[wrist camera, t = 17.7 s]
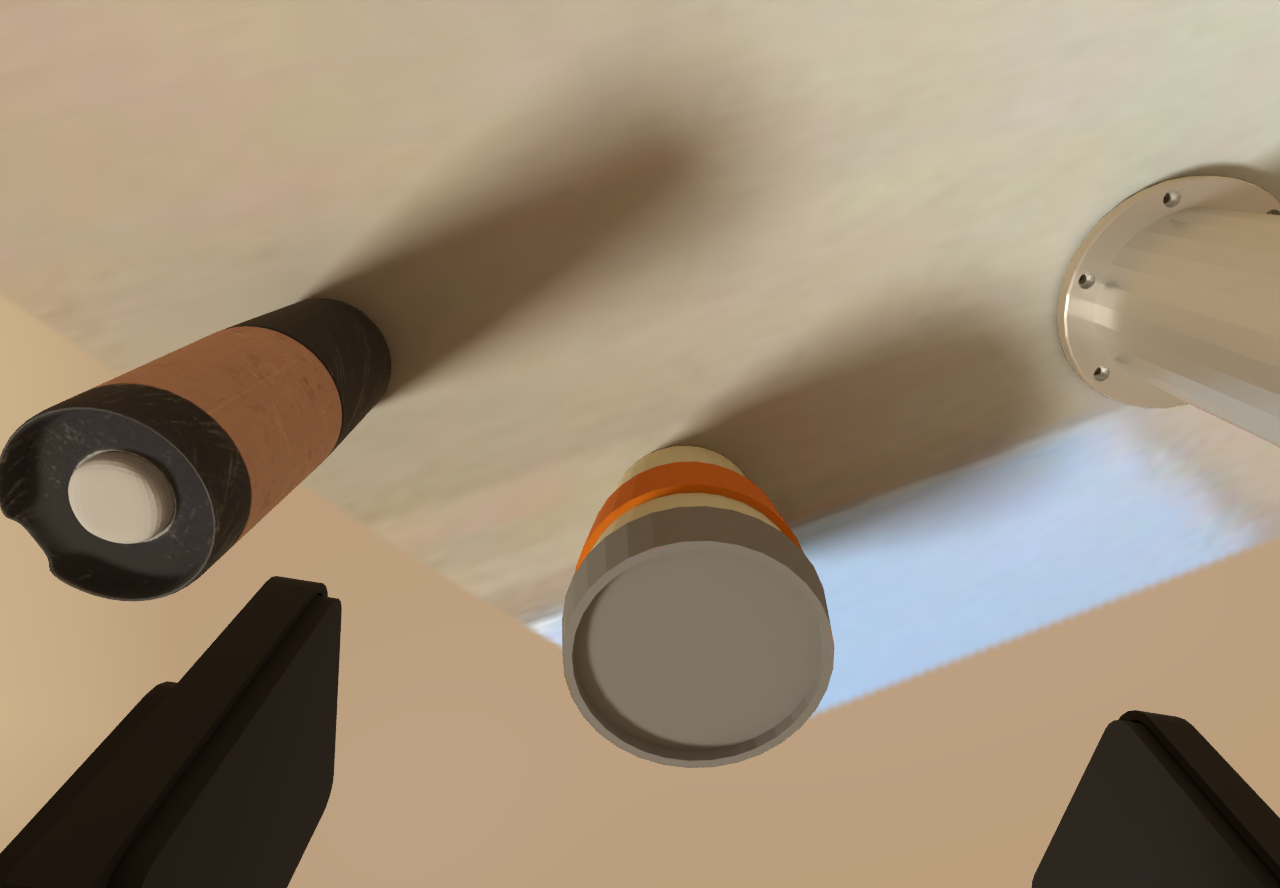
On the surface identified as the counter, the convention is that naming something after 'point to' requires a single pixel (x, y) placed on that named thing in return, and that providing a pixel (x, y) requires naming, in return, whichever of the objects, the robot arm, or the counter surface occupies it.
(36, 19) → the counter surface
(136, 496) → the travel mug
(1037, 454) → the counter surface
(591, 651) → the reusable coffee cup
